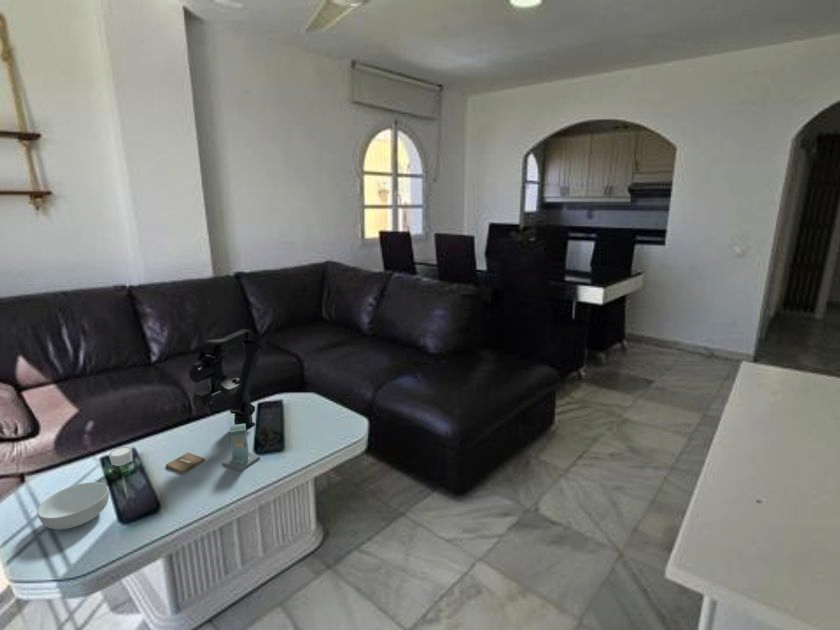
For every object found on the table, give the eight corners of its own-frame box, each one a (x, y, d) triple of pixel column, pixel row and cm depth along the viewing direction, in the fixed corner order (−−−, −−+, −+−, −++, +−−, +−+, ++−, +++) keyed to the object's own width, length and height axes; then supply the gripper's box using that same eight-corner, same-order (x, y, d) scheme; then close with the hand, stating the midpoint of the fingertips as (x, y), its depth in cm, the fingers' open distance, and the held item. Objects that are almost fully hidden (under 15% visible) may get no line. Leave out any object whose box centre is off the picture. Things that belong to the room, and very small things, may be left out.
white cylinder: (139, 464, 165) (136, 446, 164) (125, 475, 159) (122, 457, 157) (121, 463, 166) (118, 445, 164) (107, 474, 159) (103, 456, 158)
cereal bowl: (101, 494, 149) (97, 475, 147) (120, 516, 139) (116, 495, 137) (35, 521, 136) (30, 501, 134) (51, 548, 126) (45, 526, 124)
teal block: (234, 456, 168) (230, 425, 165) (248, 454, 169) (245, 423, 166) (233, 464, 163) (229, 432, 160) (248, 461, 165) (244, 430, 162)
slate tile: (242, 452, 173) (241, 449, 172) (259, 458, 169) (259, 455, 168) (222, 464, 165) (222, 461, 164) (240, 471, 161) (240, 468, 161)
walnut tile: (188, 454, 171) (188, 452, 171) (205, 460, 167) (204, 457, 167) (166, 467, 163) (165, 464, 163) (183, 473, 160) (182, 470, 159)
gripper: (210, 385, 163) (215, 425, 167) (250, 368, 179) (254, 405, 183) (189, 379, 168) (194, 418, 171) (230, 363, 184) (234, 399, 188)
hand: (220, 410), depth 178 cm, fingers open, 9 cm apart
